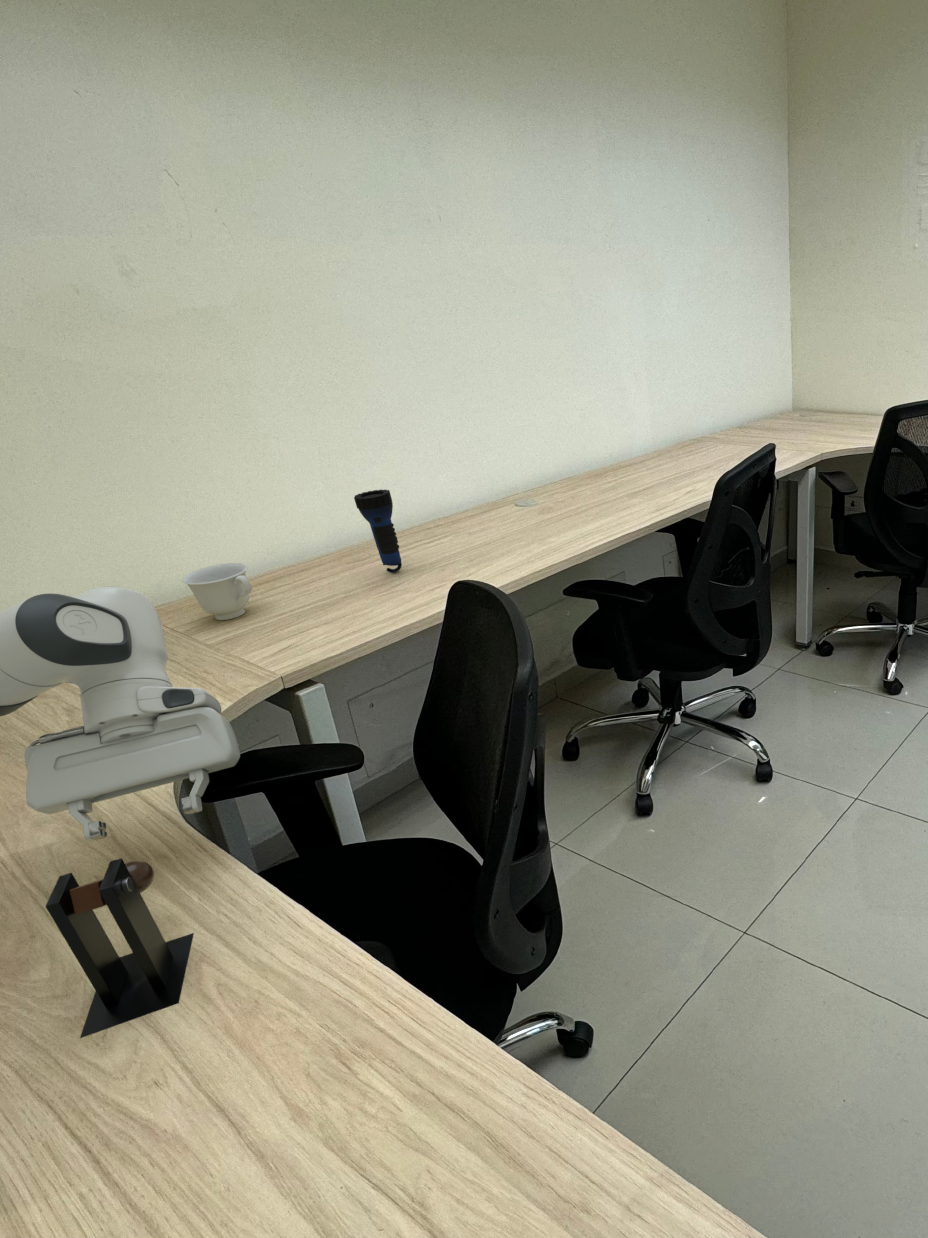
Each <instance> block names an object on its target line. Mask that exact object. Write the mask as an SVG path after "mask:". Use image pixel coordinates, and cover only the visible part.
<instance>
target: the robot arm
mask: <svg viewBox="0 0 928 1238" xmlns="http://www.w3.org/2000/svg"><path fill="white" fill-rule="evenodd" d="M165 636H166V635H165V631H164V628H163V624H162V620H161V618H160V615H159V612H158V610H157V609H156V607H155V605H154V604H153V602H152V601H151V599H150V598H149V597H148V596H146V595H145V593H144V594H143V593H142V592H139V591H137V590H134V589H131V588H128V587H121V586H100V587H94V588H91V589H88V590H86V591H83V593H80V594H75V595H65V594H61V593H41V594H40V593H39V594H36V595H34V596H31V597H29V598H26V599H24V600H22V601H20V602H18V603H15V604H14V605H12V606H10V607H8V608H5V609H4V610H2V611H0V717H4V716H7V715H10V714H12V713H14V712H16V711H17V710H19V709H20V708H22V707H23V706H25V705H27V704H28V703H30V702H32V701H33V700H34V699H36V698H37V697H38V696H40V695H42V694H44V693H46V692H48V691H51V690H52V689H54V688H56V687H58V686H60V685H62V684H64V683H65V684H72V685H76V686H77V687H78V688H79V690H80V691H79V692H80V693H79V696H80V706H81V715H82V723H83V725H79V726H75V727H72V728H71V727H70V728H67V729H64V730H61V731H57V732H50V733H49V732H48V733H45V734H42V735H40V736H38V738H37V739H36V740H34V741H32V742H31V743H30V744H29V745H28V746H27V747H26V748H25V750H24V765H25V768H26V770H27V773H26V781H25V782H26V784H25V801H26V805H27V806H28V807H29V808H31V809H32V810H34V811H36V812H38V813H41V814H45V815H52V814H53V815H54V814H57V813H60V812H65V811H68V814H69V815H70V816H71V817H72V818H73V819H75V820H76V821H77V822H78V823H79V825H81V826H82V829H83V835H84V839H85V841H87V842H91V843H92V842H94V841H98V840H101V839H106V838H107V837H108V832H107V831H106V830H107V823H106V822H103V821H101V820H97V821H94V820H93V819H92V818H91V817H90V816H89V815H88V814H90V813H92V812H93V805H92V804H95V803H99V802H102V801H106V800H110V799H115V798H119V797H122V796H126V795H130V794H133V793H139V792H141V791H145V790H149V789H153V788H158V787H161V786H163V785H165V786H166V785H169V784H172V783H176V782H178V781H183V780H189V781H190V782H191V783H194V784H193V785H192V788H191V791H190V793H189V795H188V796H185V797H182V798H181V805H182V812H183V814H184V815H187V816H188V815H192V814H196V813H199V812H202V811H203V803H202V797H203V795H204V794H205V792H206V789H207V787H208V786H209V784H210V776H209V774H210V773H211V774H212V773H214V772H219V771H221V770H225V769H229V768H234V767H235V766H236V765H237V764H238V762H239V760H240V758H241V752H240V747H239V743H238V740H237V736H236V734H235V731H234V729H233V726H232V725H231V723H230V722H229V721H228V719H226V718H225V717H224V716H223V715H222V705H221V703H220V702H219V699H217V698H216V697H215V696H214V695H213V694H212V693H211V692H209V691H207V690H206V689H203V688H202V687H201V688H200V687H182V686H180V687H179V686H173V683H172V681H171V679H170V676H168V673H167V662H168V659H169V658H168V657H169V656H168V655H169V654H168V648H167V641H166V637H165Z"/></svg>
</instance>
